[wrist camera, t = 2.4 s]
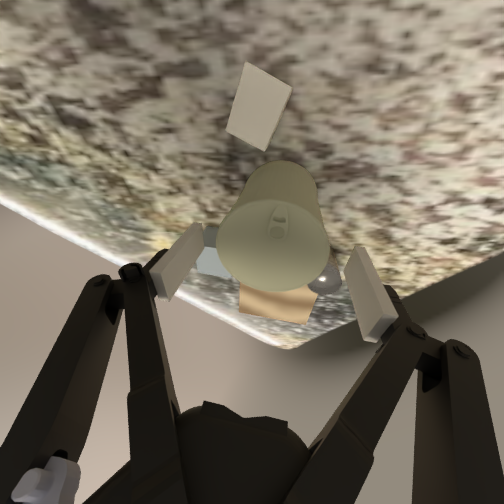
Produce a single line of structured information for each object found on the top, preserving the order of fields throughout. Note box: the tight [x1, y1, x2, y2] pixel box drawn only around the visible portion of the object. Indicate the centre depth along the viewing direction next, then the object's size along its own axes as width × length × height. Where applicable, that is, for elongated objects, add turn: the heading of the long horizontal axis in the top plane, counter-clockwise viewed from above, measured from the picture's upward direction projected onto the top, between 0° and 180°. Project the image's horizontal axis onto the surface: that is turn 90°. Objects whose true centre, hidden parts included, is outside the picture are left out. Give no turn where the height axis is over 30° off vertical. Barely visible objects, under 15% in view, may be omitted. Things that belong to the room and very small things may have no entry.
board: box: [239, 282, 318, 325], centre depth 34 cm, size 13×13×1 cm
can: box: [216, 160, 330, 292], centre depth 20 cm, size 9×9×12 cm
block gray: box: [196, 226, 232, 278], centre depth 29 cm, size 5×5×5 cm
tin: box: [307, 246, 342, 295], centre depth 26 cm, size 4×4×6 cm
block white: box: [226, 61, 293, 152], centre depth 18 cm, size 5×4×4 cm
